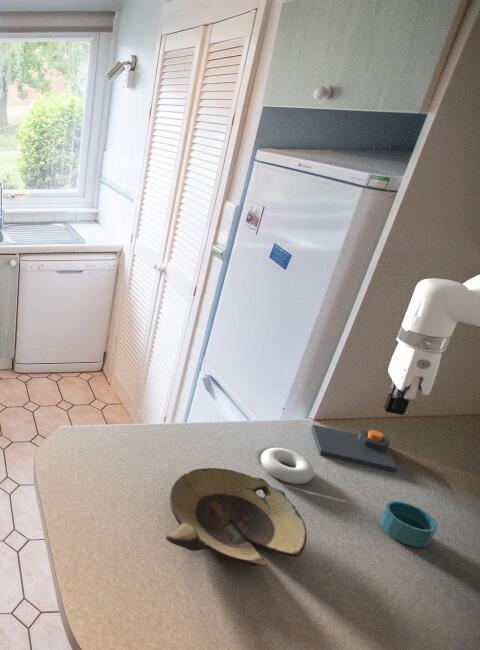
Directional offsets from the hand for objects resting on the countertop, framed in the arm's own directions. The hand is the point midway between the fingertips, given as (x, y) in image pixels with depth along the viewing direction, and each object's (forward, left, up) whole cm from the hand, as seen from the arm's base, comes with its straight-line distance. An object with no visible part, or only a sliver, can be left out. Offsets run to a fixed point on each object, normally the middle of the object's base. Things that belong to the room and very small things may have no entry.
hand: (393, 411), depth 101 cm
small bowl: (+1, +24, -13) cm, 27 cm away
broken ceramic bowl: (+33, +38, -13) cm, 52 cm away
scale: (+4, -1, -13) cm, 14 cm away
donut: (+19, +14, -13) cm, 27 cm away
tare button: (0, -4, -10) cm, 11 cm away
